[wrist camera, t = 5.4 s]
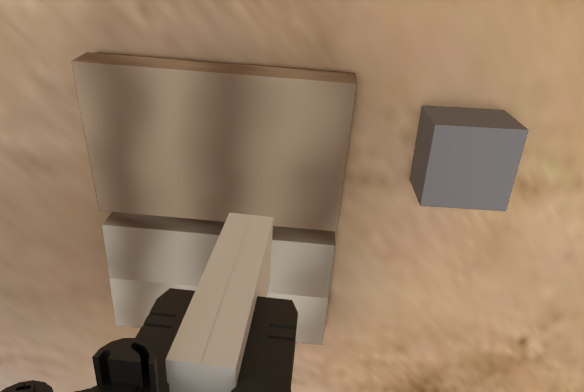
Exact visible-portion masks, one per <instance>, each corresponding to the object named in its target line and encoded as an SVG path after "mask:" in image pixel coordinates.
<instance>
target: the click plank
mask: <svg viewBox="0 0 584 392" xmlns="http://www.w3.org/2000/svg"><path fill="white" fill-rule="evenodd" d="M71 64H72V69H73V74H74V80H75V85H76V90H77V95H78V101H79V106H80V111H81V116H82V122H83V127H84V132H85V137H86V143H87V148H88V153H89V159H90V164H91V169H92V174H93V180H94V185H95V190H96V195H97V201H98V206H99V211H109V212H120V213H132V214H143V215H154V216H166V217H177V218H188V219H200V220H211V221H223V222H226V219H227V217H228V215H229V213H238V214H248V215H259V216H269V217H273V226H280V227H291V228H302V229H314V230H325V231H336V232H337V227H338V220H339V212H340V205H341V198H342V190H343V183H344V175H345V168H346V161H347V153H348V146H349V138H350V131H351V124H352V116H353V109H354V101H355V94H356V86H357V82H356V76H355V73H344V72H331V71H318V70H306V69H293V68H280V67H267V66H254V65H242V64H229V63H216V62H203V61H191V60H178V59H165V58H152V57H139V56H127V55H114V54H101V53H88V52H87V53H85V54H83V55H81V56H80V57H78V58H76V59H74V60H72V61H71Z"/></svg>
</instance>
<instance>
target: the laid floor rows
mask: <svg viewBox="0 0 584 392" xmlns="http://www.w3.org/2000/svg"><path fill="white" fill-rule="evenodd" d="M224 224H225V222H223V221H211V220H200V219H188V218H177V217H166V216H154V215H143V214H132V213H120V212H112V214H111V215H110V216H109V217H108V218H107V219H106V221H105V222H104V223H103V224H102V230H103V237H104V244H105V251H106V258H107V265H108V273H109V280H110V287H111V294H112V301H113V308H114V315H115V323H116V326H127V327H137V328H141V327H142V326H143V325H144V321H145V320H146V318H147V316H148V315H149V313H150V310H151V308H152V307H153V305H154V303H155V301H156V299H157V298H158V297H160V296H161V295H162V294H163V293H165V292H166V291H167V290H168V289H169V288H174V289H184V290H193V291H196V288H197V286H198V284H199V281H200V279H201V277H202V274H203V272H204V270H205V268H206V265H207V263H208V261H209V258H210V256H211V254H212V251H213V249H214V247H215V245H216V242H217V240H218V238H219V235H220V233H221V231H222V228H223V226H224ZM334 250H335V231H325V230H314V229H302V228H291V227H280V226H273V231H272V249H271V268H270V283H269V288H268V293H267V297H269V298H279V299H288V300H292V301H293V303H294V305H295V307H296V309H297V312H298V320H297V331H296V343H306V344H317V345H323V338H324V330H325V322H326V314H327V306H328V298H329V290H330V282H331V274H332V266H333V258H334Z"/></svg>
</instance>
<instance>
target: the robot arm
mask: <svg viewBox="0 0 584 392" xmlns="http://www.w3.org/2000/svg"><path fill="white" fill-rule="evenodd" d="M272 231H273V217H269V216H259V215H248V214H238V213H229V215H228V217H227V219H226V222H225V224H224V226H223V228H222V231H221V233H220V235H219V238H218V240H217V242H216V245H215V247H214V249H213V251H212V254H211V256H210V258H209V261H208V263H207V265H206V268H205V270H204V272H203V274H202V277H201V279H200V281H199V284H198V286H197V288H196V291H193V290H184V289H174V288H169V289H168V290H167V291H166V292H165V293H163V294H162V295H161V296H160V297H158V298H157V299H156V301H155V303H154V305H153V307H152V308H151V310H150V313H149V315H148V316H147V318H146V320H145V321H144V325H143V326H142V327H141V329H140V331H139V332H138V334H137V336H136V338H123V339H119V340H116V341H113V342H110V343H108V344H107V345H105V346H103V347H102V348H100V349H99V350H98V351H97V353H96V354H95V355H94V356H93V357H92V358H93V364H94V369H95V375H96V381H97V386H95V387H92V388H90V389H86V390H82V391H76V392H291V381H292V371H293V362H294V352H295V342H296V331H297V320H298V312H297V309H296V307H295V305H294V303H293V301H292V300H288V299H279V298H269V297H267V293H268V288H269V283H270V268H271V249H272ZM1 392H53V390H52V387H50V386H49V385H47V384H46V383H45V382H40V381H33V380H32V381H26V382H19V383H17V384H15V385H12V386H10V387H7V388H5V389H4V390H2V391H1Z"/></svg>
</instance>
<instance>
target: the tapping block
mask: <svg viewBox="0 0 584 392" xmlns="http://www.w3.org/2000/svg"><path fill="white" fill-rule="evenodd" d="M527 134H528V129H527V128H525V127H524V126H523V125H522V124H520V123H519V122H518V121H517V120H515V119H514V118H513V117H512V116H510V115H509V114H508V113H507V112H505V111H504V110H492V109H474V108H455V107H436V106H422V108H421V114H420V120H419V126H418V132H417V138H416V144H415V150H414V156H413V162H412V168H411V174H410V181H411V184H412V186H413V189H414V191H415V194H416V196H417V199H418V201H419V204H420V206H431V207H447V208H463V209H479V210H495V211H506V209H507V205H508V202H509V198H510V195H511V191H512V187H513V184H514V180H515V177H516V173H517V170H518V166H519V162H520V159H521V155H522V152H523V148H524V145H525V141H526V137H527Z"/></svg>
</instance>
